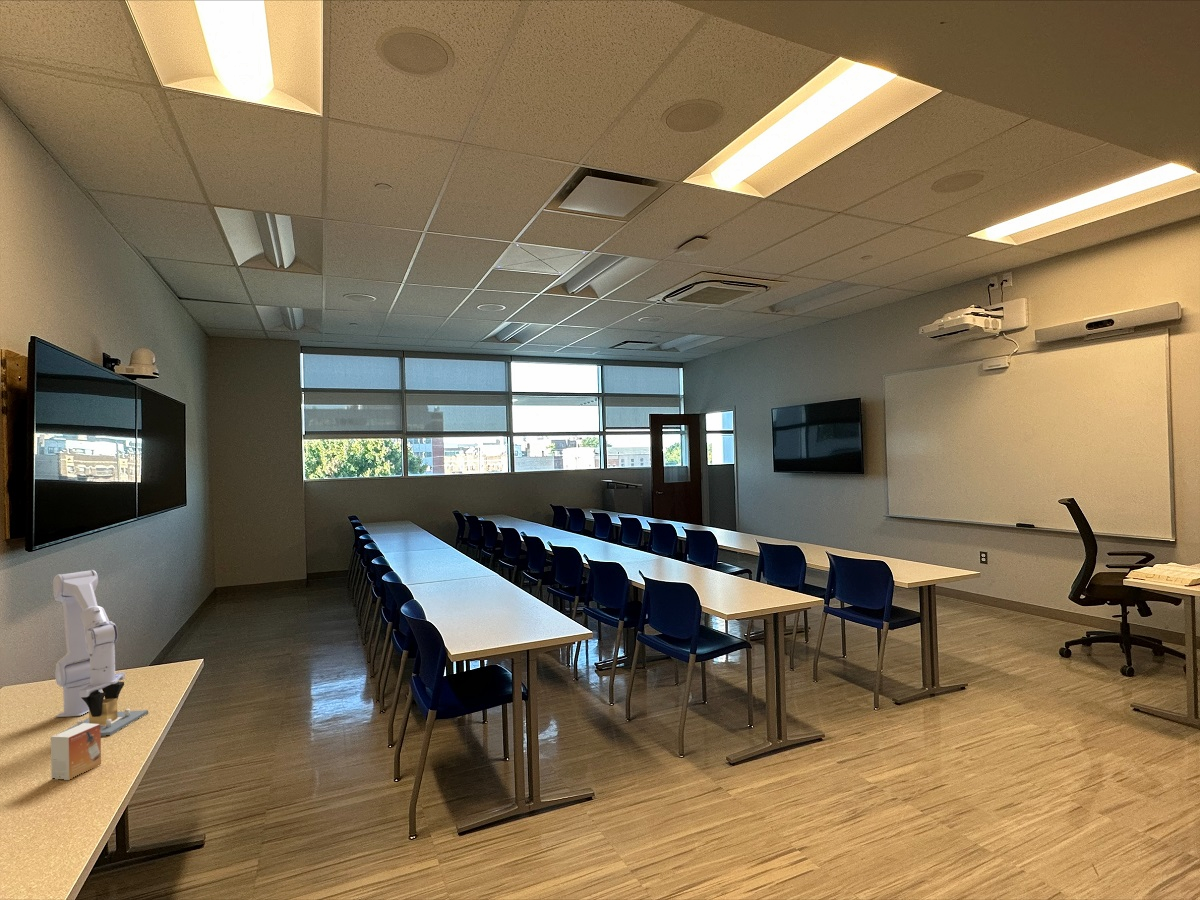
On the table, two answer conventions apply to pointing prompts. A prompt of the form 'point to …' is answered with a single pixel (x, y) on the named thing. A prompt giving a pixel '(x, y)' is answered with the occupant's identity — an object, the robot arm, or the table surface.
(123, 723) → the pin board
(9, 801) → the table surface
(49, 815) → the table surface
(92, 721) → the ochre block
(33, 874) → the table surface
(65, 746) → the small box
